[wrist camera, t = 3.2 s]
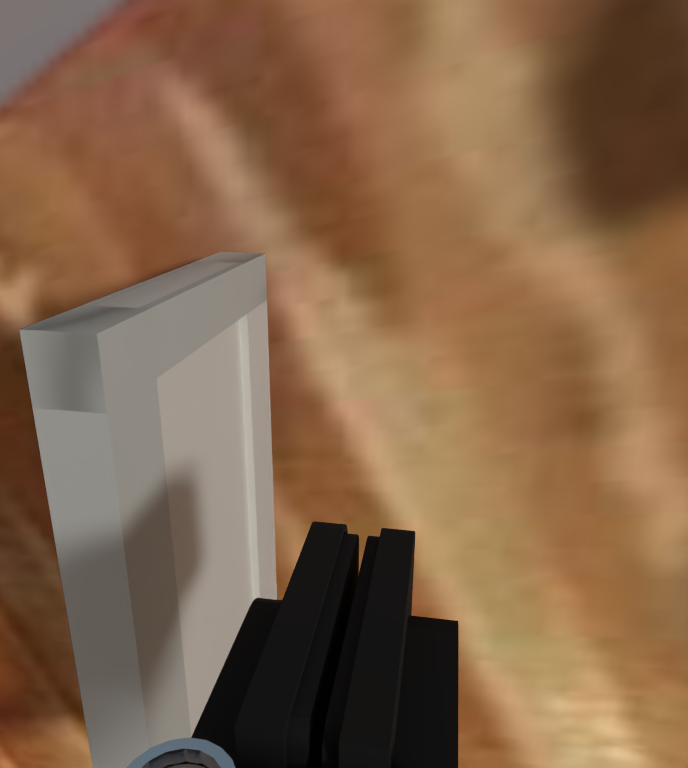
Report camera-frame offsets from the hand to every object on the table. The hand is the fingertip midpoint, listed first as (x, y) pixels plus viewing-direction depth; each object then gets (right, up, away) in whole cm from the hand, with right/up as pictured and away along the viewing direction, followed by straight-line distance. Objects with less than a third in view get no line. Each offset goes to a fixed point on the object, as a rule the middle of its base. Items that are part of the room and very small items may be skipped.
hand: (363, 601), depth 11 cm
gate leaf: (-4, 0, +13) cm, 13 cm away
